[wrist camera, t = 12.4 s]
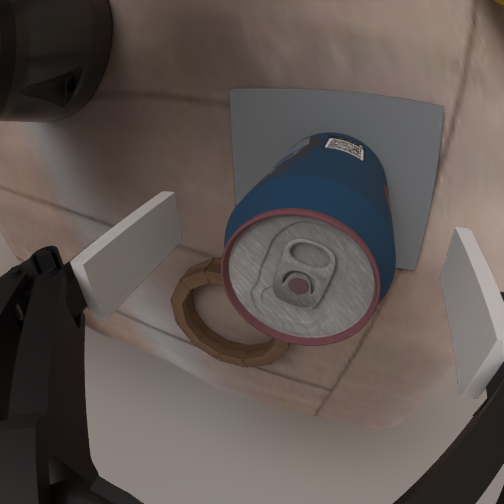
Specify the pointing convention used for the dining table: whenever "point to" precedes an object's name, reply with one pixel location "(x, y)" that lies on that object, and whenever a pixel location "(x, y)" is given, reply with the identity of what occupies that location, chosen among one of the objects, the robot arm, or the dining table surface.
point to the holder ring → (207, 337)
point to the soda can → (312, 243)
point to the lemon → (500, 2)
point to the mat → (355, 125)
